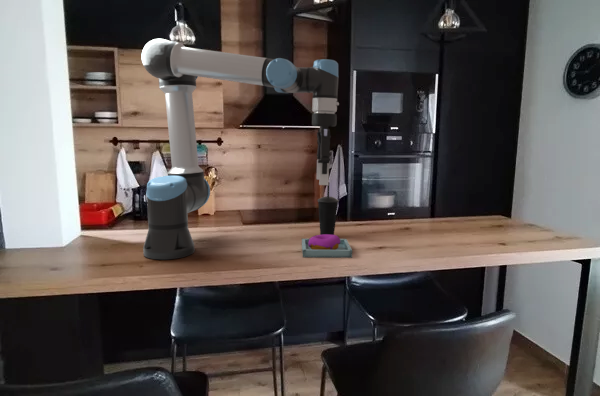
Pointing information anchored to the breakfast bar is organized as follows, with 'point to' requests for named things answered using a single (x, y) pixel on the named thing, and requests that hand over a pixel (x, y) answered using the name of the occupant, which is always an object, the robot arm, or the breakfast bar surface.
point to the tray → (340, 252)
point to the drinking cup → (327, 213)
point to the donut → (324, 242)
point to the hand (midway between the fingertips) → (322, 182)
